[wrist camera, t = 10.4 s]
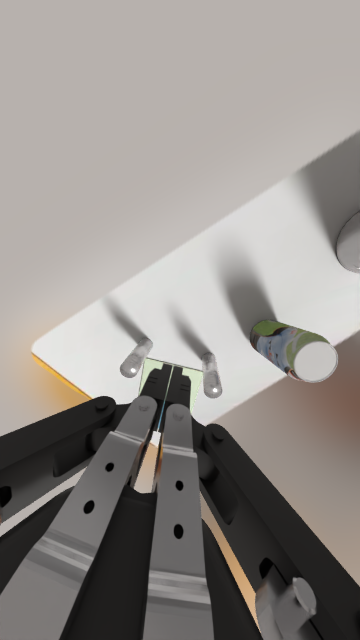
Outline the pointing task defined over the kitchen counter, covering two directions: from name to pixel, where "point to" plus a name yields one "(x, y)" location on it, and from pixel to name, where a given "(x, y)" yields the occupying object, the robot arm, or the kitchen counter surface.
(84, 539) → the robot arm
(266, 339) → the beverage can
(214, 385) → the post
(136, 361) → the post
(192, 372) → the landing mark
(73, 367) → the kitchen counter surface
